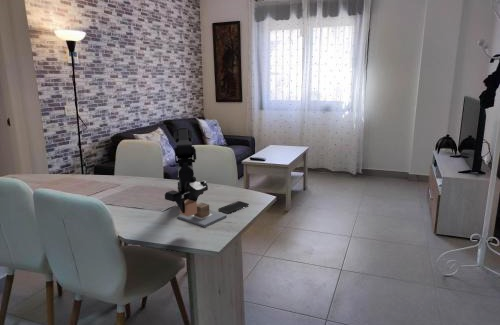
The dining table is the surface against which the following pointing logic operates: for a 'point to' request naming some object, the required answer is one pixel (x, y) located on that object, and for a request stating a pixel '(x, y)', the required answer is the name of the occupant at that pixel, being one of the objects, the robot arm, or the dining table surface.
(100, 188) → the dining table surface
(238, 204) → the phone
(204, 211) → the walnut cube
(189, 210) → the terracotta cube
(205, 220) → the board
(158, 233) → the dining table surface
